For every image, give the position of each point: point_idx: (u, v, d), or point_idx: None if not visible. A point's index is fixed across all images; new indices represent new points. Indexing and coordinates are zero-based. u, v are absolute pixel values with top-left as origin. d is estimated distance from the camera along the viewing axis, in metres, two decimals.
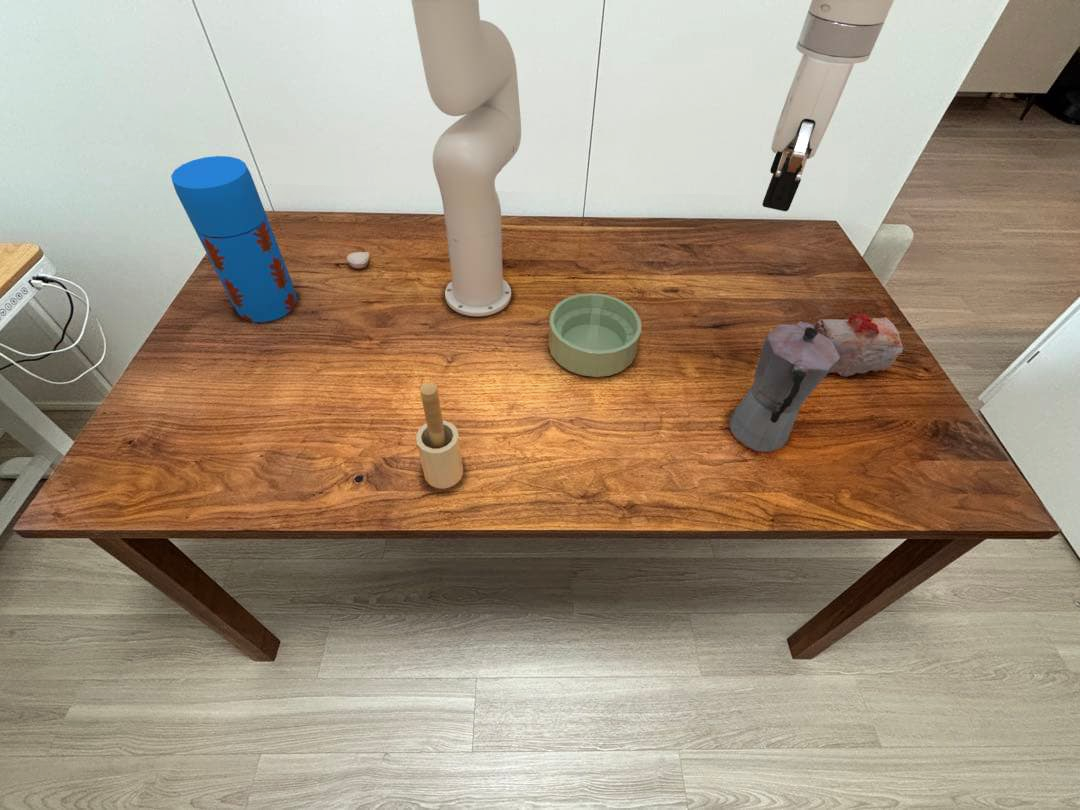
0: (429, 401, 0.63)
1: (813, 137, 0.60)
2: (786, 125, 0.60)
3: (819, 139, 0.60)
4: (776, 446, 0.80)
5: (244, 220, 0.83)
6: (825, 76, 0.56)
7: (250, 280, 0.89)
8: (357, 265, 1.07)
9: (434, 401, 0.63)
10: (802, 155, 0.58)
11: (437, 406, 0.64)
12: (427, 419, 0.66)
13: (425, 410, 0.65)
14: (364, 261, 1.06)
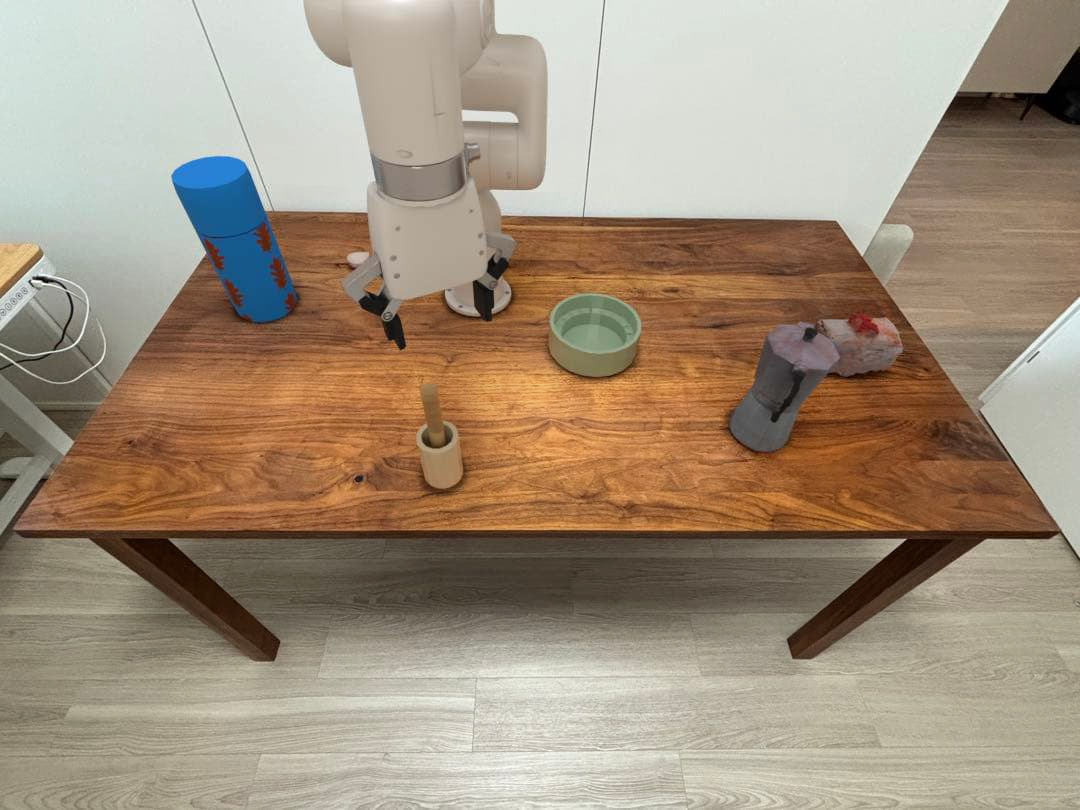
0: (429, 401, 0.63)
1: (384, 276, 0.48)
2: (372, 251, 0.49)
3: (389, 281, 0.48)
4: (776, 446, 0.80)
5: (244, 220, 0.83)
6: (371, 208, 0.45)
7: (250, 280, 0.89)
8: (357, 265, 1.07)
9: (434, 401, 0.63)
10: (343, 289, 0.48)
11: (437, 406, 0.64)
12: (427, 419, 0.66)
13: (425, 410, 0.65)
14: (364, 261, 1.06)
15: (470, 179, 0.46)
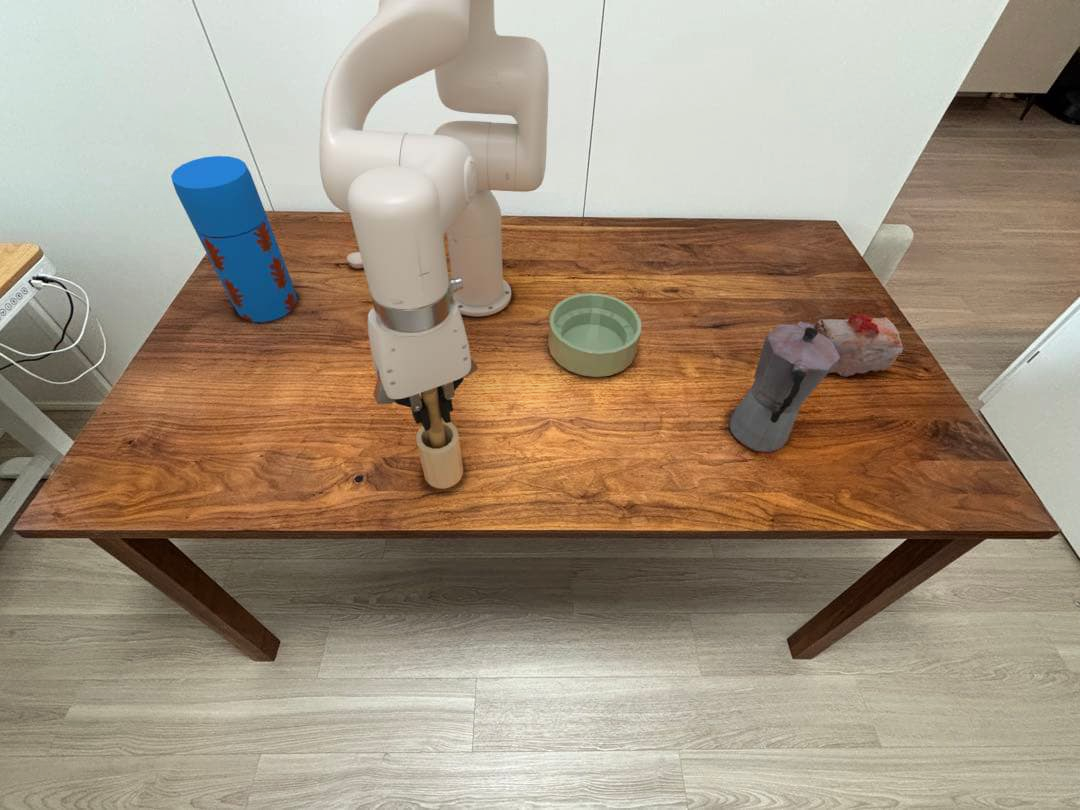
0: (429, 401, 0.63)
1: None
2: None
3: (386, 387, 0.57)
4: (776, 446, 0.80)
5: (244, 220, 0.83)
6: (371, 333, 0.53)
7: (250, 280, 0.89)
8: (357, 265, 1.07)
9: (434, 401, 0.63)
10: (377, 402, 0.60)
11: (437, 406, 0.64)
12: None
13: None
14: None
15: (454, 305, 0.55)
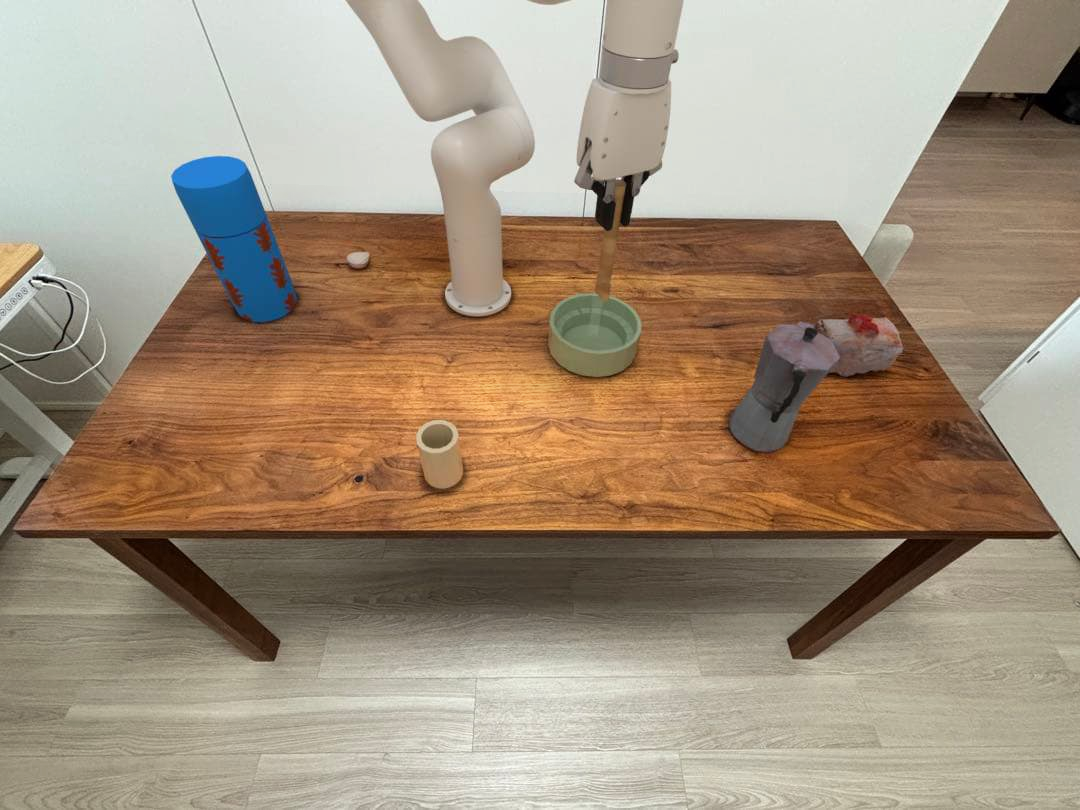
0: (618, 195, 0.67)
1: None
2: (579, 139, 0.63)
3: (596, 161, 0.61)
4: (776, 446, 0.80)
5: (244, 220, 0.83)
6: (595, 98, 0.58)
7: (250, 280, 0.89)
8: (357, 265, 1.07)
9: (621, 196, 0.68)
10: (578, 185, 0.64)
11: (622, 204, 0.69)
12: None
13: None
14: (364, 261, 1.06)
15: None
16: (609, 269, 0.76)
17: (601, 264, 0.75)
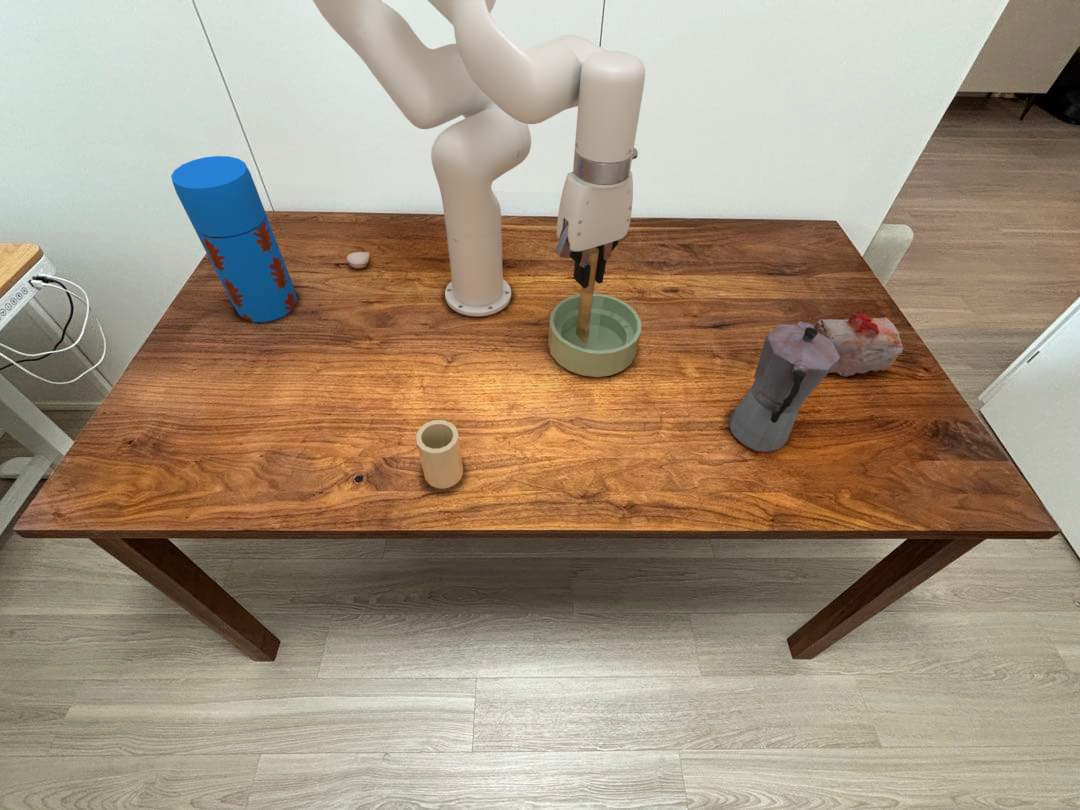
0: (592, 260, 0.80)
1: None
2: (558, 218, 0.75)
3: (572, 237, 0.74)
4: (776, 446, 0.80)
5: (244, 220, 0.83)
6: (570, 190, 0.71)
7: (250, 280, 0.89)
8: (357, 265, 1.07)
9: (595, 261, 0.80)
10: None
11: (596, 266, 0.81)
12: None
13: None
14: (364, 261, 1.06)
15: None
16: (587, 317, 0.88)
17: (580, 313, 0.88)
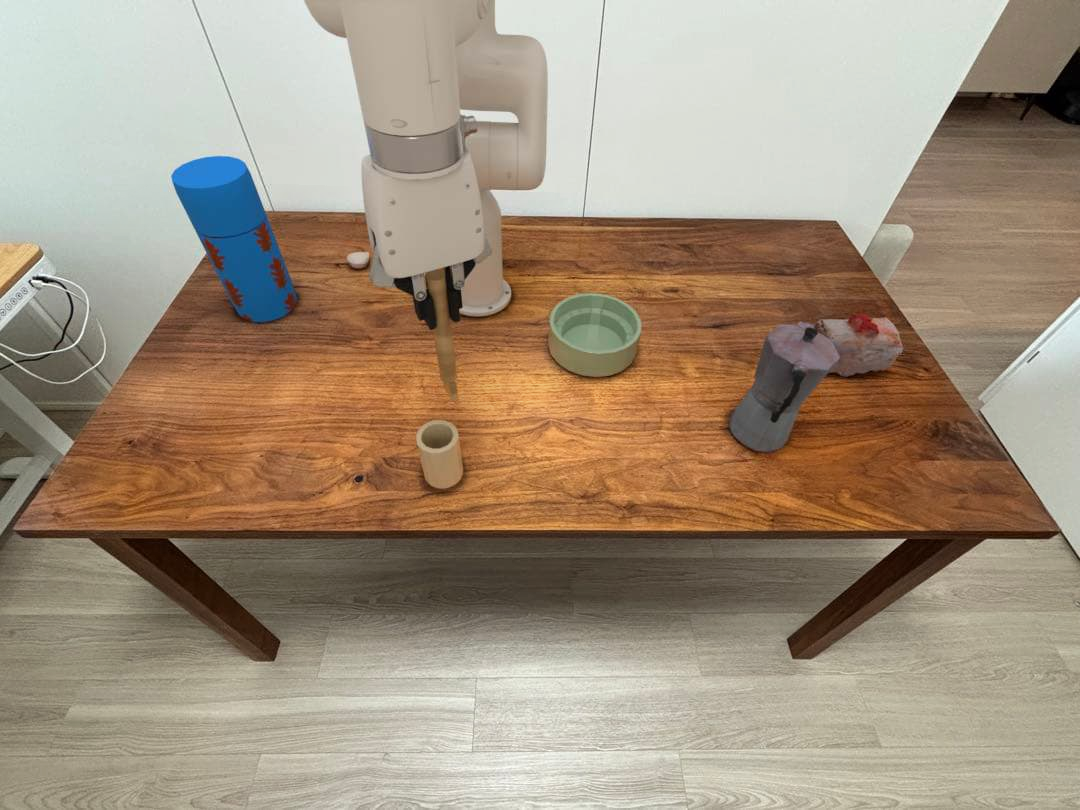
0: (436, 290, 0.53)
1: None
2: (367, 227, 0.49)
3: (384, 258, 0.47)
4: (776, 446, 0.80)
5: (244, 220, 0.83)
6: (366, 182, 0.44)
7: (250, 280, 0.89)
8: (357, 265, 1.07)
9: (441, 291, 0.53)
10: None
11: (444, 299, 0.54)
12: None
13: None
14: (364, 261, 1.06)
15: (466, 153, 0.45)
16: (449, 368, 0.61)
17: (439, 363, 0.61)
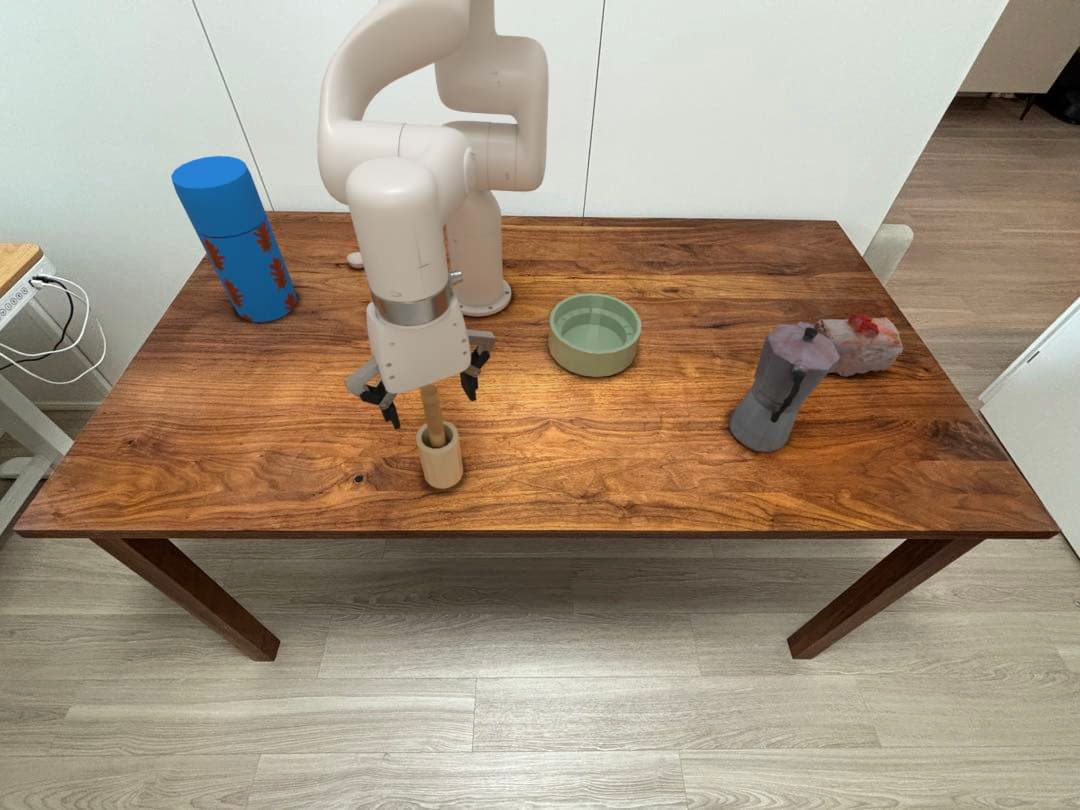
0: (430, 403, 0.63)
1: (381, 376, 0.56)
2: None
3: (385, 381, 0.56)
4: (776, 446, 0.80)
5: (244, 220, 0.83)
6: (370, 326, 0.53)
7: (250, 280, 0.89)
8: (357, 265, 1.07)
9: (434, 403, 0.63)
10: (346, 387, 0.56)
11: (437, 408, 0.64)
12: (427, 421, 0.66)
13: (425, 412, 0.64)
14: None
15: (454, 298, 0.54)
16: None
17: None
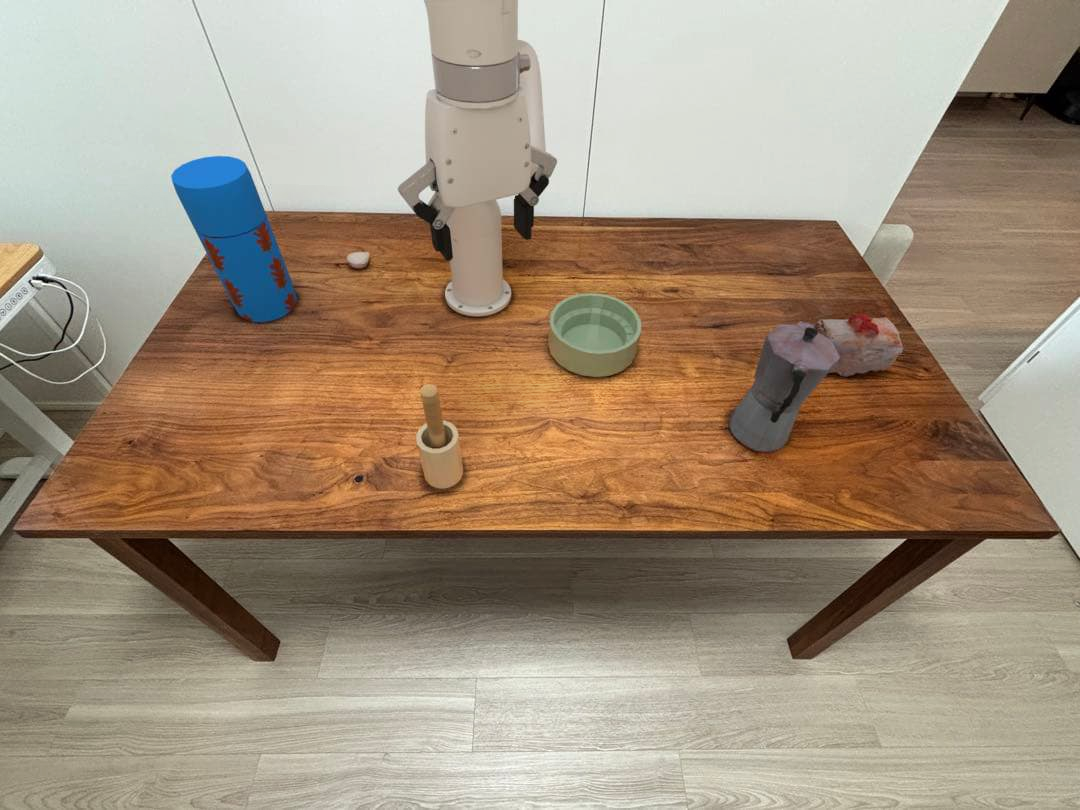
0: (430, 403, 0.63)
1: (438, 182, 0.52)
2: (426, 160, 0.53)
3: (442, 186, 0.52)
4: (776, 446, 0.80)
5: (244, 220, 0.83)
6: (430, 113, 0.48)
7: (250, 280, 0.89)
8: (357, 265, 1.07)
9: (434, 403, 0.63)
10: (401, 193, 0.52)
11: (437, 408, 0.64)
12: (427, 421, 0.66)
13: (425, 412, 0.64)
14: (364, 261, 1.06)
15: (520, 90, 0.50)
16: None
17: None
